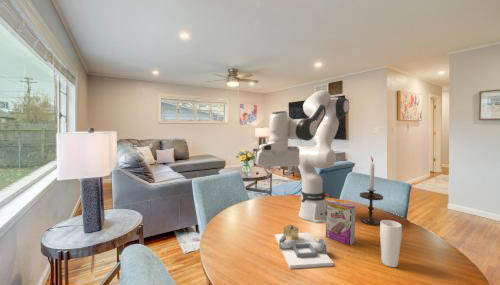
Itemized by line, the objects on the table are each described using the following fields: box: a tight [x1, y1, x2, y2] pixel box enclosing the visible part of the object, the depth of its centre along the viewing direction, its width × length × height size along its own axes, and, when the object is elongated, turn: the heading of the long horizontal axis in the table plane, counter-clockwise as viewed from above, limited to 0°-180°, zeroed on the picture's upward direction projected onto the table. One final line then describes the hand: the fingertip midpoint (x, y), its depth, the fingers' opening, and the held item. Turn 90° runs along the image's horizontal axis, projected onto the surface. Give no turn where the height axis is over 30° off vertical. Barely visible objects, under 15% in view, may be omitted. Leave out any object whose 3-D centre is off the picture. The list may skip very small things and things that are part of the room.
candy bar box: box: [325, 199, 357, 247], centre depth 101 cm, size 11×5×16 cm, turn 44°
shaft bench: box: [274, 232, 334, 269], centre depth 93 cm, size 17×24×5 cm
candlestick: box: [359, 155, 384, 227], centre depth 121 cm, size 11×11×35 cm
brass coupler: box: [283, 224, 300, 241], centre depth 100 cm, size 4×4×6 cm
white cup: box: [379, 219, 403, 268], centre depth 84 cm, size 7×7×15 cm
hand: (277, 176), depth 107 cm, fingers open, 8 cm apart
